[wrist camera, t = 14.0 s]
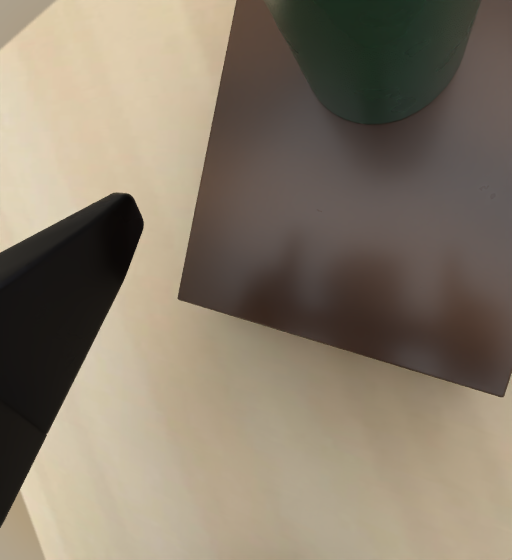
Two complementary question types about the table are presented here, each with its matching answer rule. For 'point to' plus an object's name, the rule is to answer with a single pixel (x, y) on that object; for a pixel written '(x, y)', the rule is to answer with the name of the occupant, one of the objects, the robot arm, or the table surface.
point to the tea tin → (376, 51)
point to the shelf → (362, 210)
